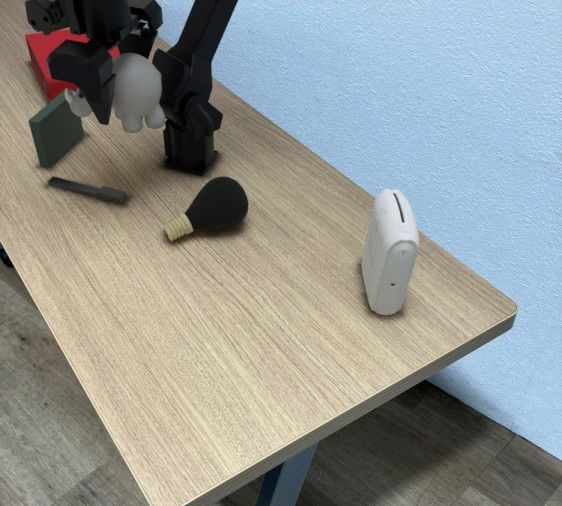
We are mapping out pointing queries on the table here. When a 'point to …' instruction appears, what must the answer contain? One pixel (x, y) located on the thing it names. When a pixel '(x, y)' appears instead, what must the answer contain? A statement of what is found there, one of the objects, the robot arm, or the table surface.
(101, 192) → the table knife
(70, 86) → the audio interface
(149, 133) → the table surface
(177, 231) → the light bulb
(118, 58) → the chubby cartoon animal
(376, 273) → the photo printer
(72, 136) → the backboard
